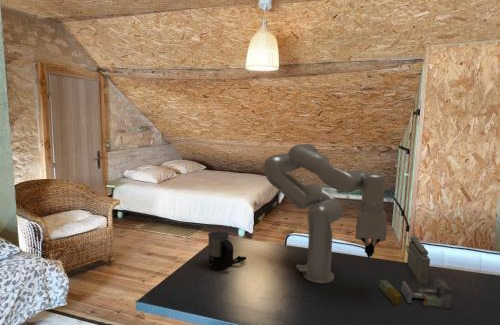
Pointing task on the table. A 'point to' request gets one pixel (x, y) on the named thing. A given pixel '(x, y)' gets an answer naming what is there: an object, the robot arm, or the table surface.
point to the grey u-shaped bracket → (439, 294)
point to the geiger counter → (418, 260)
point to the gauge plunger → (409, 294)
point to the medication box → (390, 292)
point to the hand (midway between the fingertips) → (369, 254)
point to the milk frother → (221, 251)
